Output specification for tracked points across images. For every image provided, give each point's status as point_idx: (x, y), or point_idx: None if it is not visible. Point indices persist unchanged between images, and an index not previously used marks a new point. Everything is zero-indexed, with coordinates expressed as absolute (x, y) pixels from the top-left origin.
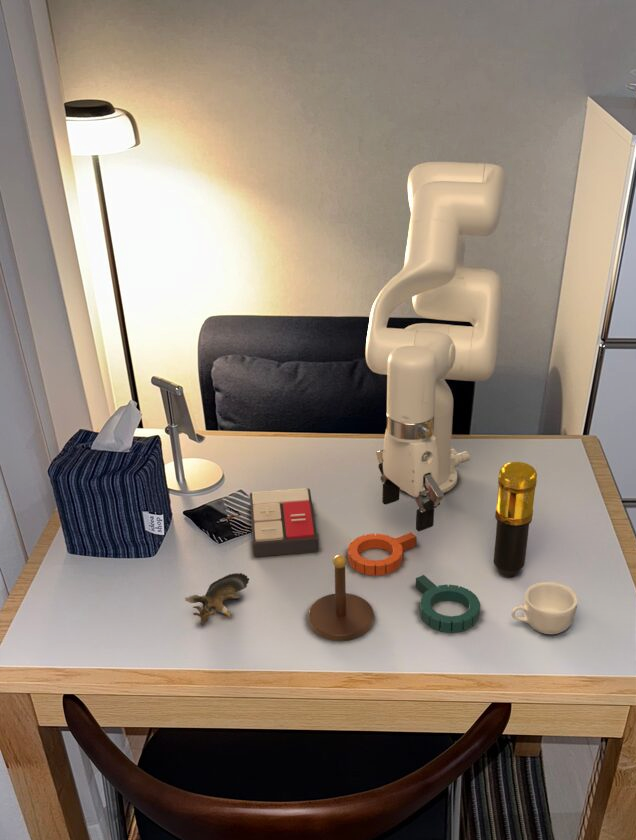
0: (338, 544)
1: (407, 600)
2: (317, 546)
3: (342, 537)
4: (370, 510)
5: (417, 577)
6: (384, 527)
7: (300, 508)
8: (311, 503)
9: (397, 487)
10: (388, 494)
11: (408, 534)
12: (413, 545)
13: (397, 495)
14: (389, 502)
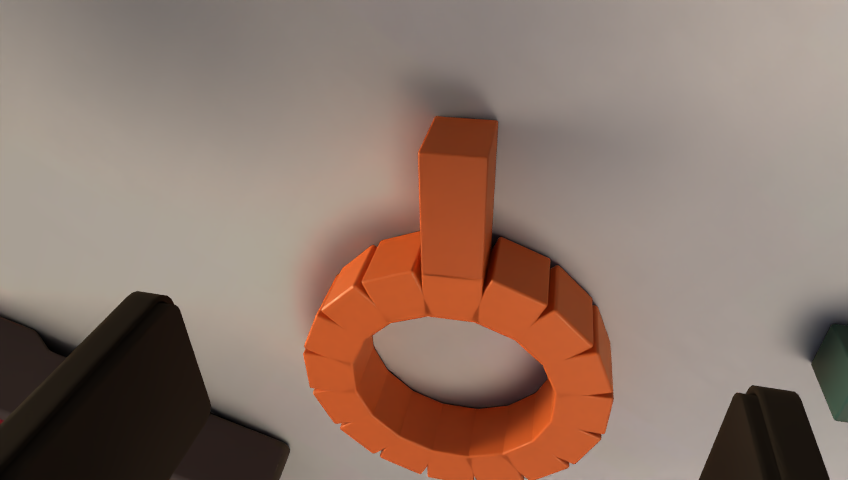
0: (277, 376)
1: (842, 436)
2: (278, 465)
3: (234, 339)
4: (35, 106)
5: (841, 415)
6: (225, 149)
7: None
8: (2, 414)
9: (74, 444)
10: (147, 476)
11: (432, 185)
12: (495, 148)
13: (144, 361)
14: (196, 388)
